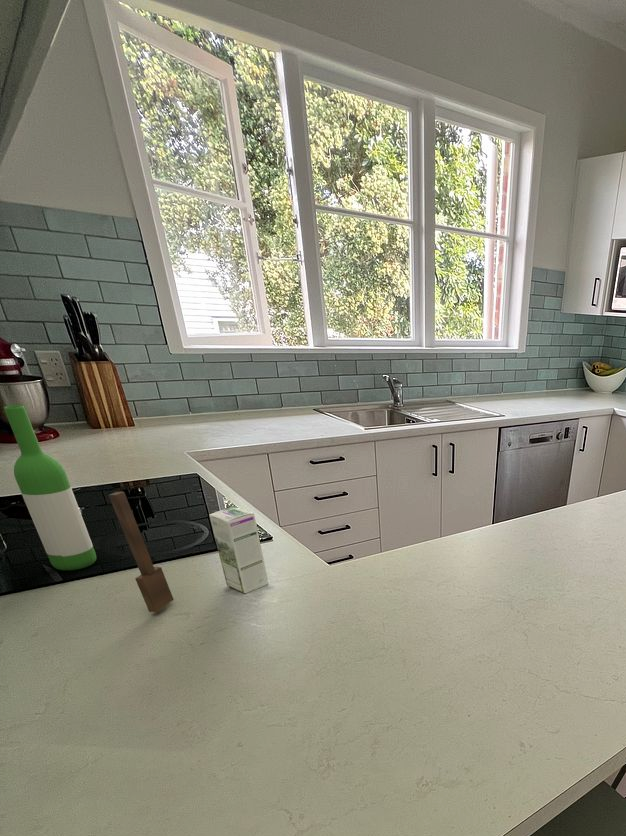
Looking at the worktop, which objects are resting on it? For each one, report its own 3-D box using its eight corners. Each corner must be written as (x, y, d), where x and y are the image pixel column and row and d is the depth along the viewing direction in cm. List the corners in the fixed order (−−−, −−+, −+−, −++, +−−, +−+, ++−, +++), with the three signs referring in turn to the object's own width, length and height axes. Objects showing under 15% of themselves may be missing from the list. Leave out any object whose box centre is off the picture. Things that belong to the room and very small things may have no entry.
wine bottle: (70, 556, 114) (9, 402, 98) (106, 557, 114) (51, 403, 98) (43, 571, 107) (-27, 409, 91) (82, 573, 107) (18, 410, 91)
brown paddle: (100, 497, 83) (108, 497, 83) (123, 489, 87) (130, 488, 87) (149, 611, 94) (156, 612, 94) (167, 599, 98) (173, 599, 98)
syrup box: (270, 584, 106) (256, 511, 98) (243, 594, 101) (226, 520, 94) (251, 576, 108) (236, 505, 101) (225, 586, 104) (207, 513, 96)
